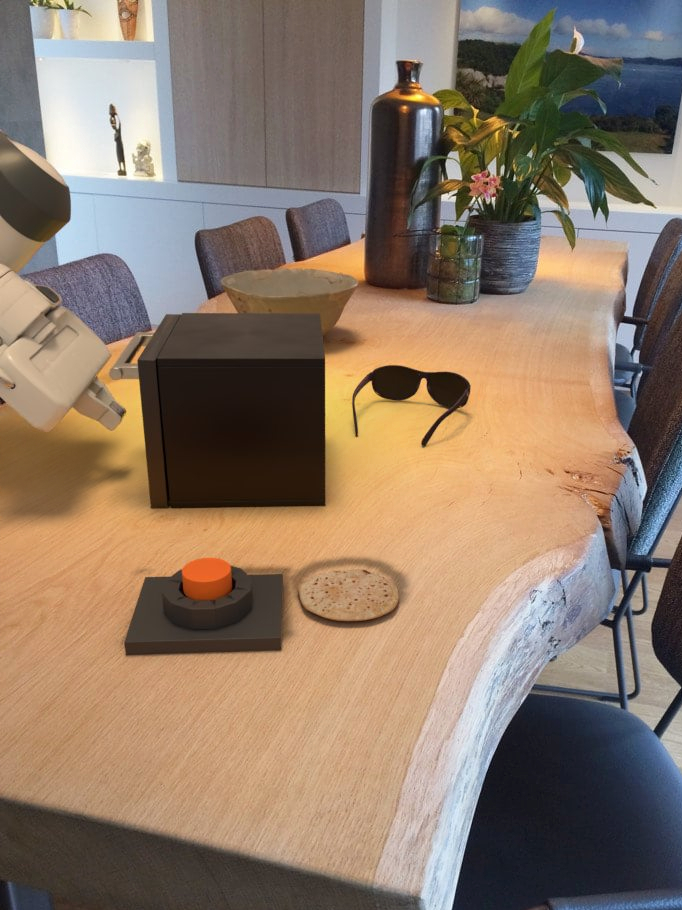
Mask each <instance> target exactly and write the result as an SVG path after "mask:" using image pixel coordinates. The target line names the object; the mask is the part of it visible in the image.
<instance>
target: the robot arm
mask: <svg viewBox="0 0 682 910" xmlns="http://www.w3.org/2000/svg"><path fill="white" fill-rule="evenodd" d="M71 217H72V199H71V191H70V186H69V185H68V184H67V183H66V181H65V179H64V178H63V176H62V175H61V173H60V172H59V171H58V170H57V169H56V168H55V167H54V166H53V164H51V162H49V161H48V160H47V159H45V157H43V156H41V154H40V153H37V152H36V151H34V150H33V149H31V148H29V147H28V146H26V145H24V144H22V143H20V142H17V141H15V140H14V139H12V138H11V137H10V136H9V135H7V133H5V132H4V131H3V130H2V129H0V398H1V400H3V401H4V402H5V403H6V404H7V405H8V406H9V408H12V410H13V411H14V412H16V413H17V414H18V415H19V416H20V417H21V418H23V419H24V420H25V421H26V422H27V423H28V424H30V425H31V426H32V427H33V428H35V429H37V430H40V431H43V432H44V433H45V432H46V433H49V432H51V431H52V430H53V429H54V428H55V427H56V426H57V425H58V424H59V423H60V422H61V421H62V419H64V417H65V416H66V415H67V414H68V413H69V412H70V411H71V410H72V409H74V410H75V411H76V412H77V413H79V414H80V415H82V416H85V417H87V418H89V419H91V420H94V421H96V422H98V423H99V424H101V425H102V426H103V427H104V428H106V430H108V431H114V430H116V428H117V427H119V425H121V423H122V422H123V420H124V418H125V416H126V415H127V409H126V407H124V406H123V405H121V404H120V403H119V402H118V401H117V399H116V398H115V397H114V396H113V394H112V393H111V391H110V390H109V388H108V387H107V386H106V384H105V383H103V381H101V380H100V379H99V378H98V375H99V373H101V371H102V370H103V369H104V367H105V366H106V365H107V363H108V362H109V361H110V359H111V358H112V353H111V351H110V349H109V348H108V346H107V345H106V343H105V342H104V341H103V340H102V339H101V337H99V336H98V335H97V334H96V333H95V332H94V331H93V330H92V329H91V328H90V327H89V326H88V324H86V323H85V322H84V321H83V320H82V319H81V318H80V317H78V315H76V314H75V312H73V311H72V310H70V309H68V308H67V307H65V306H63V305H61V303H62V302H63V297H62V296H61V295H60V294H59V293H58V292H57V291H55V290H54V289H53V288H52V287H50V286H48V285H42V284H36V283H33V282H32V283H31V282H30V281H28V280H24V279H23V278H22V277H21V276H20V275H18V274H19V273H20V272H21V270H22V269H24V267H25V266H26V265H27V264H28V263H29V262H30V261H31V259H32V258H33V257H34V256H35V255H36V254H37V253H38V251H40V249H41V248H42V247H43V246H44V245H45V244H46V242H48V241H50V240H52V238H53V237H54V236H56V234H58V233H59V232H60V231H61V230H62V229H63V228H64V227H65V226H66V225H67V224H68V223H69V222H70V221H71Z"/></svg>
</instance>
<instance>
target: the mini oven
mask: <svg viewBox="0 0 682 910" xmlns="http://www.w3.org/2000/svg"><path fill="white" fill-rule="evenodd" d="M157 366H158V378H159V388H160V399H161V410H162V421H163V432H164V443H165V454H166V465H167V476H168V487H169V498H170V502H169V509H171V510H172V509H173V510H174V509H224V508H225V509H227V508H229V509H230V508H231V509H233V508H289V507H292V508H294V507H295V508H296V507H297V508H299V507H326V354H325V344H324V336H323V335H322V326H321V317H320V314H297V313H238V312H182V313H181V316H180V318H179V320H178V321H177V323H176V325H175V327H174V329H173V330H172V332H171V334H170V336H169V338H168V339H167V341H166V343H165V345H164V347H163V348H162V350H161V352H160V354H159V356H158V357H157Z"/></svg>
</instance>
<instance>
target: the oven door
mask: <svg viewBox="0 0 682 910" xmlns="http://www.w3.org/2000/svg"><path fill="white" fill-rule="evenodd" d="M181 314H182V313H181ZM181 314H180V313H179V314H178V313H176V314H175V313H166V314H165V315H164V317H163V319H162V320H161V322H160V323H159V325H158V327H156V330H155V331H154V332H143V331H137V332H135V334H134V335H133V336H132V338H131V339H130V341H129V342H128V344H127V345H126V347H125V348H124V349H123V351H122V352H121V353H120V355H119V357H118V358H117V360H116V361H115V362H114V364H113V365H112V366H111V368H110V369H109V371H108V376H109V377H110V379H111V380H113V381H118V380H138V383H139V393H140V404H141V405H140V406H141V415H142V416H141V417H142V426H143V427H142V428H143V436H144V447H145V459H146V470H147V481H148V491H149V502H150V509H168V508H169V506H170V498H169V487H168V476H167V465H166V454H165V443H164V432H163V421H162V410H161V399H160V388H159V378H158V366H157V357H158V356H159V354H160V352H161V350H162V348H163V347H164V345H165V343H166V341H167V339H168V338H169V336H170V334H171V332H172V330H173V329H174V327H175V325H176V323H177V321H178V320H179V318H180V316H181ZM142 347H144V349H143V350H142V351H141V353H140V355H139V356H138V358H137V360H136V361H137V362H135V363H133V360H134V359H135V358H136V356H137V354H138V353H139V351H140V350H141V348H142Z"/></svg>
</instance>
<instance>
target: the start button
mask: <svg viewBox="0 0 682 910" xmlns="http://www.w3.org/2000/svg"><path fill="white" fill-rule="evenodd" d="M231 566H232V565H231V564H230V563H229V561H226V560H225V559H222V558H217V557H201V558H196V559H193V560H191V561H189V562H188V563H186V564H184V566H183V567H182V581H183V591H184V594H185V595H186V596H187V597H188V598H191V599H194V600H214V599H218V598H221V597H224V596H227V595H228V594H229V593H230V592H231V590H232V575H231Z"/></svg>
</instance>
